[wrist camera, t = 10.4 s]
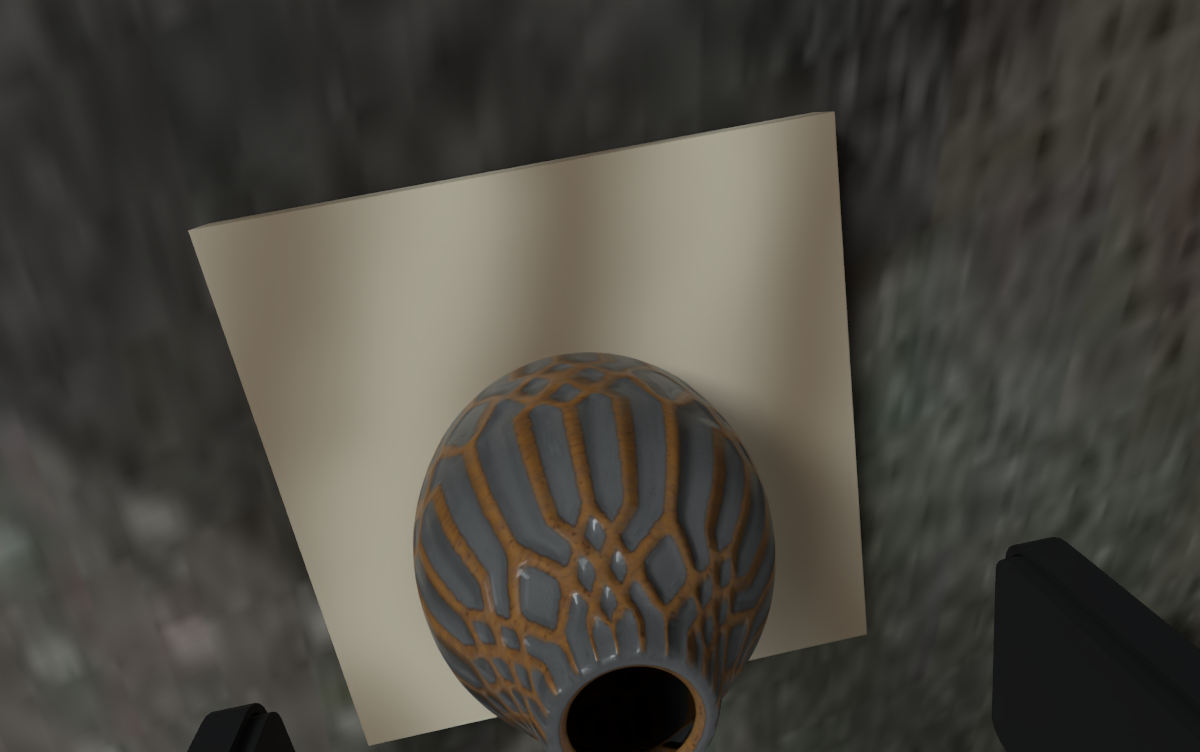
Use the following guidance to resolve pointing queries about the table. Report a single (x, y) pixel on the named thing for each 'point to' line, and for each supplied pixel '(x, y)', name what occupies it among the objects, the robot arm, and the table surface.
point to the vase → (595, 554)
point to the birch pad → (533, 332)
